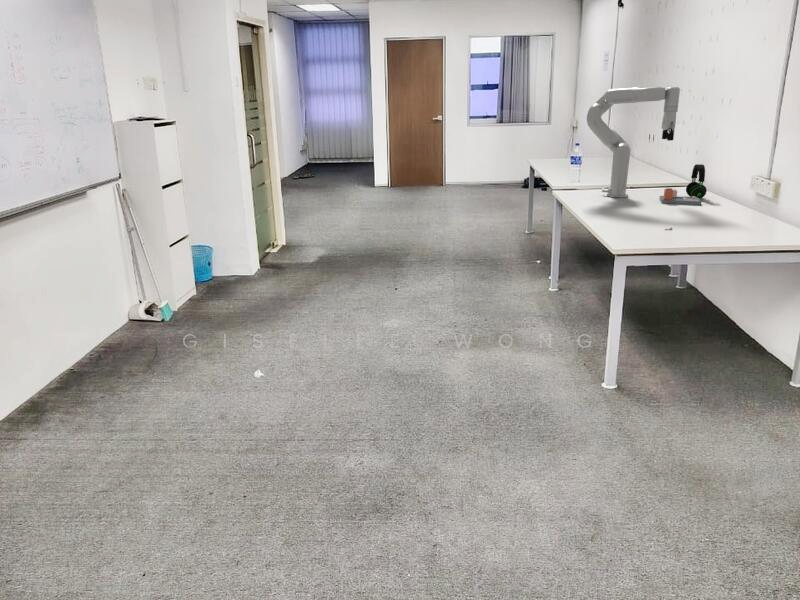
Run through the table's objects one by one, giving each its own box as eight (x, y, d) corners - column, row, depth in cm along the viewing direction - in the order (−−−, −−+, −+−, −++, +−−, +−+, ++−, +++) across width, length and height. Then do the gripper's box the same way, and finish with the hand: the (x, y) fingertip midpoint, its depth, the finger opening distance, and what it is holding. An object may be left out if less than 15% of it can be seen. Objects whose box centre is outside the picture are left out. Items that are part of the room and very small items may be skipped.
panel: (661, 203, 368) (662, 197, 367) (659, 199, 381) (660, 193, 380) (700, 205, 362) (701, 199, 361) (697, 200, 375) (698, 195, 374)
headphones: (690, 200, 378) (695, 166, 371) (683, 195, 392) (687, 162, 386) (707, 200, 377) (712, 166, 370) (699, 195, 391) (703, 163, 385)
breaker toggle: (672, 197, 373) (673, 190, 372) (671, 196, 377) (672, 189, 376) (676, 197, 373) (677, 190, 371) (675, 196, 376) (676, 189, 375)
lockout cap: (663, 199, 369) (665, 188, 367) (663, 198, 373) (664, 187, 371) (672, 199, 367) (673, 189, 365) (671, 198, 372) (672, 188, 370)
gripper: (659, 109, 376) (656, 138, 382) (669, 110, 360) (665, 141, 365) (672, 108, 376) (669, 138, 381) (682, 109, 359) (679, 140, 365)
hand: (667, 139), depth 373 cm, fingers open, 9 cm apart
